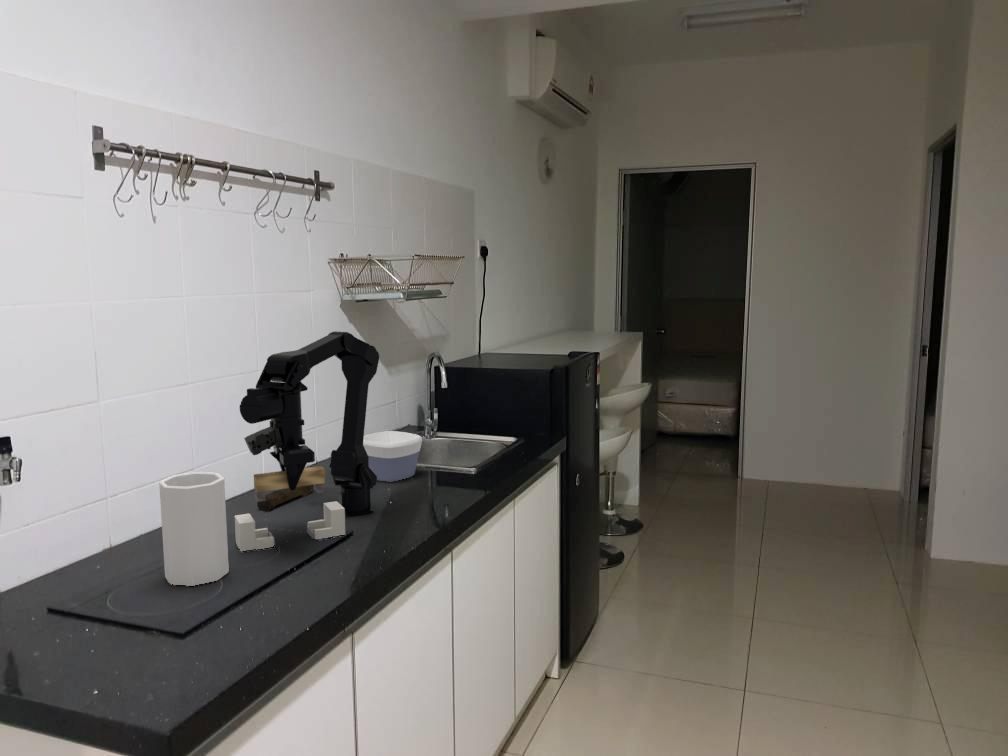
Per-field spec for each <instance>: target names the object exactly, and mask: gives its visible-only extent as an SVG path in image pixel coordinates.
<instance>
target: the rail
mask: <svg viewBox="0 0 1008 756" xmlns="http://www.w3.org/2000/svg"><path fill="white" fill-rule="evenodd" d="M307 485H313V486H314V489H313V491H315V492H317V494H321V493H326V470H325V468H324V467H323V466H322V465H318V466H311V467H305V468H304V470H303V472H302V475H301V477H300V479H299V482H298V484H297V486H296V487H299V486H307ZM253 487H254V488H253V489H254V491H253V492H254V499H255V500H256V502H260V501H266V496H265V495H266V492H269V491H278V490H280V489H285V488H289V485H288V481H287V476H286V472H285V471H281V470H280V471H279V470H278V471H271V472H264V473H256V474H253Z"/></svg>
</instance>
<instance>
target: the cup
mask: <svg viewBox="0 0 1008 756" xmlns="http://www.w3.org/2000/svg"><path fill="white" fill-rule="evenodd" d="M225 487H226V486H225V478H224V477H223V476H222V475H220V474H219V473H217V472H211V471H210V472H209V471H208V472H206V471H194V472H193V471H192V472H186V473H185V472H184V473H179V474H173V475H170V476H169V477H166V478H165V479H162V480H160V481H159V497H160V498H159V499H160V500H159V501H160V502H159V503H160V515H161V516H160V517H161V531H162V532H161V533H162V548H163V566H164V578H165V579H166V580H167V583H168V584H169V583H170V584H169V585H170V586H176V585H186V586H185V587H189V586H194V587H196V586H195V585H198V586H200V585H199V584H203V585H206V584H205V583H207V584H210V583H209V582H212V583H215V582H214V581H216V582H218V581H219V580H220V579H222V578H223V577H224V576H225V575H227V574H228V573H229V572H230V571H229V570H230V569H229V551H228V549H229V548H228V546H229V545H228V529H227V527H228V526H227V510H226V509H227V506H226V488H225ZM172 584H173V585H172Z"/></svg>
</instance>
